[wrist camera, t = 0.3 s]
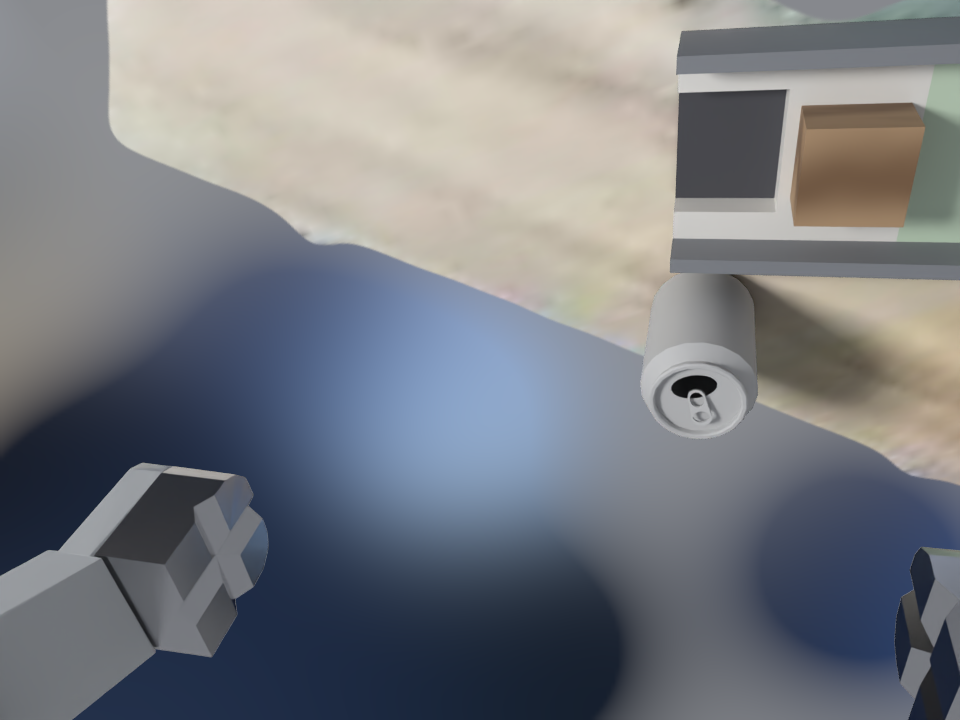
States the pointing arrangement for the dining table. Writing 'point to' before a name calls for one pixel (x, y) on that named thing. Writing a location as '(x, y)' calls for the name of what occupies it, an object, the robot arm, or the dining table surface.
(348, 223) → the dining table surface
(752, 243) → the box
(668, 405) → the can
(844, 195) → the walnut block
